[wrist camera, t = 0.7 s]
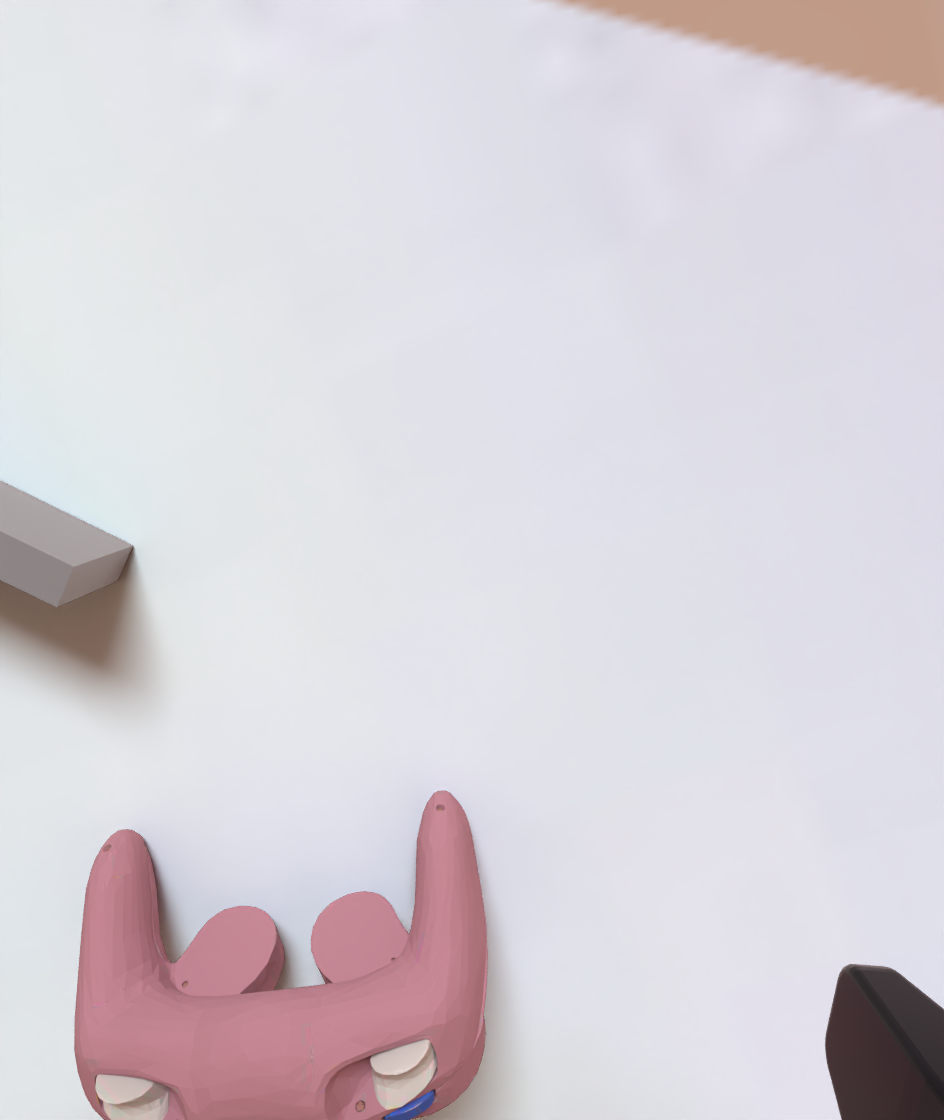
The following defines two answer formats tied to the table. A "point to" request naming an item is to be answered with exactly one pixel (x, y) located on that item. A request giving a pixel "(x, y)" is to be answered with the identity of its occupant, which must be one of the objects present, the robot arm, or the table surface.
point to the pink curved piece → (285, 998)
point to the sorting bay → (54, 550)
